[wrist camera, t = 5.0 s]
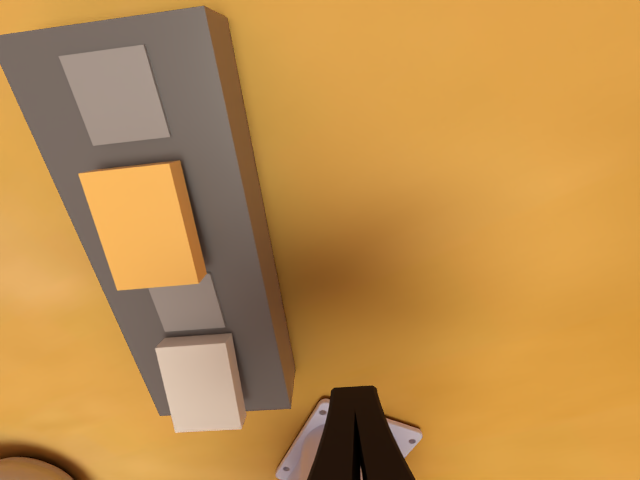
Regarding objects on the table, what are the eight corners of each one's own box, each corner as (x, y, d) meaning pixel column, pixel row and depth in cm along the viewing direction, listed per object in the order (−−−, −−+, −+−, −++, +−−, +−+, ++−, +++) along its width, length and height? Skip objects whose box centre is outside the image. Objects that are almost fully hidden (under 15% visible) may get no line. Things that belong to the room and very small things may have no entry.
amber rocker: (206, 273, 16) (198, 283, 15) (130, 280, 16) (117, 290, 15) (179, 160, 14) (168, 163, 13) (94, 169, 14) (78, 173, 13)
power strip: (295, 369, 23) (290, 410, 21) (179, 376, 24) (158, 418, 21) (227, 17, 15) (202, 5, 12) (48, 42, 15) (-16, 36, 12)
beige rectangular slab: (246, 415, 19) (241, 428, 18) (183, 418, 20) (175, 432, 19) (231, 333, 18) (225, 343, 17) (164, 337, 18) (154, 348, 17)
